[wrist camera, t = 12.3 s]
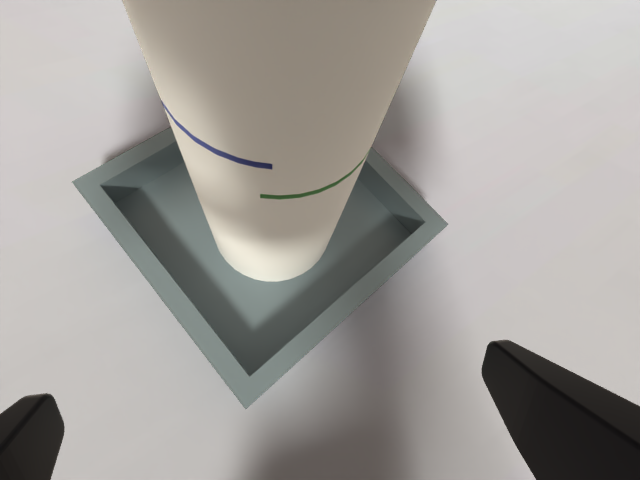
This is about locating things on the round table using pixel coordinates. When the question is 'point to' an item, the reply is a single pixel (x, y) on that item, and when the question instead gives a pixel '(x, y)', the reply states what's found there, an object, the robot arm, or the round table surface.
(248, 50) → the cylindrical container
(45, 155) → the round table surface
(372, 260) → the tray
